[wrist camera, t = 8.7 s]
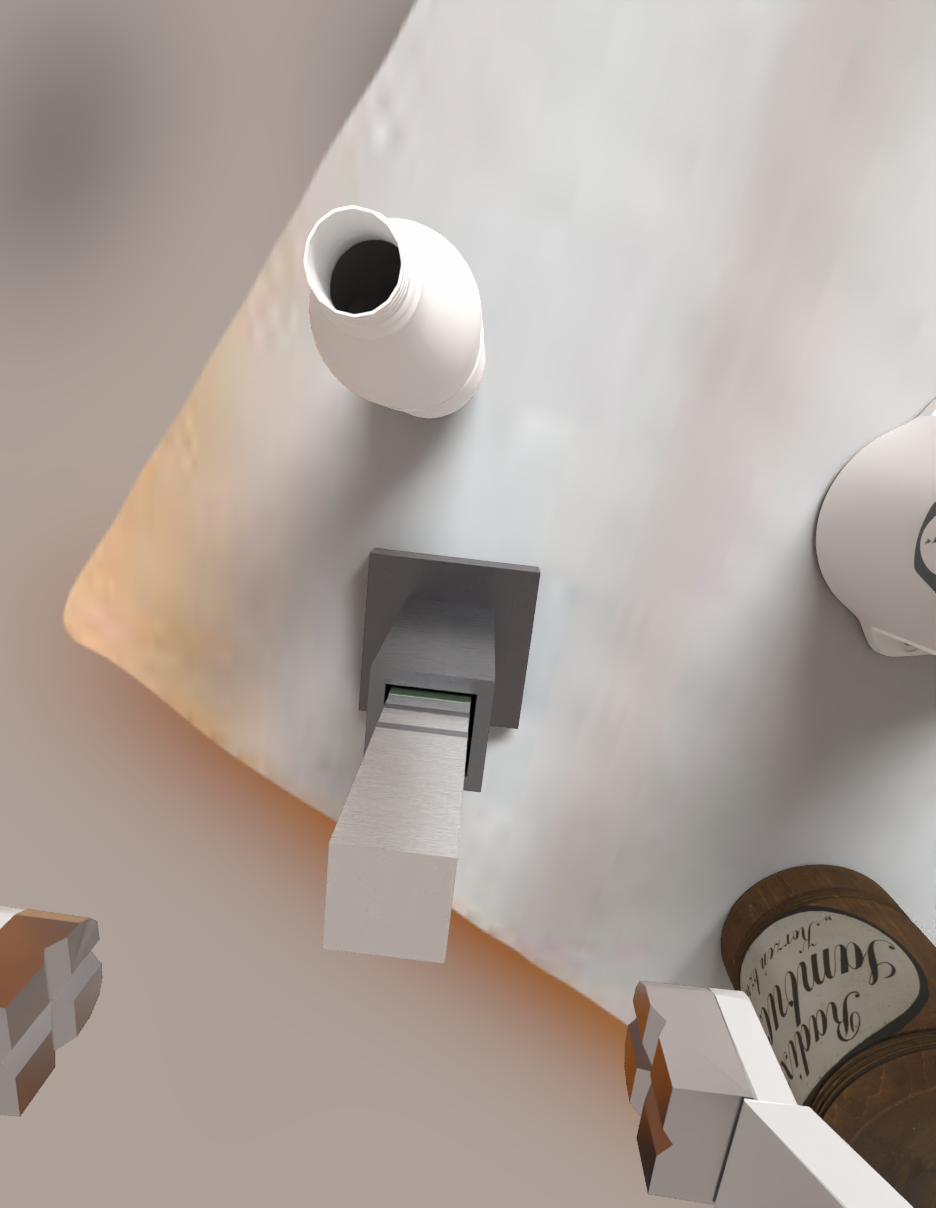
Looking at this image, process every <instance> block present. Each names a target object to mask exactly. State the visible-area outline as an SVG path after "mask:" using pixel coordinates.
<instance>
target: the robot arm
mask: <svg viewBox="0 0 936 1208" xmlns="http://www.w3.org/2000/svg"><path fill="white" fill-rule="evenodd" d="M816 552H817V558H818V562H819V566H820V569H821V572H822V575H823V577H824V579H825V581H826V583H827V585H828V587H829V588H830V590H831V591H832V592H833V594H834V595H835V596H836V597H837V598H838V600H839V601H840V602H841V603H843V604H844V605H845V606H846V607H847V608H848V609H849V610H850V611H851V612H852V613H853V614H854V615H855V616H856V617H857V618H858V620H859V621H860V623H861V626H862V629H863V632H864V635H865V637H866V639H867V642H868V643H869V645H870V647H871V648H872V649H873V650H874V651H875V652H877V653H880V654H882V655H885V656H889V657H900V656H915V655H930V654H934V655H936V398H935V399H934V400H933V401H932V402H931V403H930V404H929V405H928V406H927V407H926V408H925V409H924V410H923V411H922V413H921V414H920V415H919V416H918V417H916V418H915V419H913V420H912V421H910V422H908V423H906V424H904V425H902V426H900V427H898V428H896V429H894V430H892V431H890V432H887V433H886V434H884V435H882V436H880V437H878V438H877V439H875V440H874V441H872V442H871V443H870V444H868V445H867V446H865V447H864V448H863V449H862V450H861V451H859V452H858V453H857V454H856V455H855V456H854V457H853V458H852V459H851V460H850V461H849V462H848V463H847V464H846V465H845V467H844V468H843V469H842V470H841V472H840V473H839V474H838V476H837V477H836V479H835V480H834V482H833V484H832V485H831V487H830V489H829V491H828V493H827V495H826V497H825V499H824V502H823V505H822V507H821V511H820V514H819V518H818V523H817V530H816ZM99 939H100V938H99V930H98V922H97V921H96V920H94V919H91V918H88V917H81V916H74V915H67V914H60V913H53V912H46V911H39V910H32V909H20V908H13V907H7V906H0V1115H8V1116H19V1117H20V1116H21V1114H22V1113H23V1112H24V1110H25V1109H26V1107H27V1106H28V1105H29V1103H30V1102H31V1100H32V1099H33V1098H34V1096H35V1095H36V1093H37V1092H38V1091H39V1089H40V1088H41V1086H42V1085H43V1084H44V1082H45V1081H46V1079H47V1078H48V1077H49V1075H50V1074H51V1072H52V1071H53V1069H54V1068H55V1050H57V1049H58V1048H60V1047H61V1046H63V1045H64V1044H66V1043H68V1042H69V1041H71V1040H72V1039H74V1038H75V1037H77V1036H78V1034H79V1033H80V1031H81V1029H82V1028H83V1027H84V1025H85V1024H86V1022H87V1021H88V1019H89V1018H90V1016H91V1013H92V1011H93V1009H94V1006H95V1004H96V1001H97V999H98V997H99V995H100V988H101V983H102V964H101V962H100V961H99V960H98V959H97V957H96V956H95V955H94V954H93V952H92V951H91V950H92V948H93V947H94V946H95V945H96V943H97V942H98V941H99ZM633 1004H634V1008H635V1013H636V1017H637V1018H636V1019H635V1020H634V1021H633V1022H631V1023H630V1024H629V1025H628V1029H627V1034H626V1040H625V1074H626V1075H625V1076H626V1084H627V1090H628V1096H629V1101H630V1104H631V1105H632V1106H633V1108H634V1109H635V1110H636V1111H637V1113H638V1114H639V1115H640V1116H641V1119H640V1124H639V1129H638V1134H637V1142H638V1147H639V1152H640V1156H641V1162H642V1166H643V1172H644V1176H645V1182H646V1187H647V1192H648V1194H650V1195H656V1196H662V1197H668V1198H675V1199H681V1200H687V1201H694V1202H701V1203H706V1204H713V1205H715V1206H714V1208H913V1207H912V1206H911V1205H910V1204H909V1203H908V1202H907V1201H906V1200H905V1199H904V1198H903V1197H902V1196H901V1195H900V1194H899V1193H898V1192H897V1191H896V1190H895V1189H894V1188H893V1187H892V1186H891V1185H890V1184H889V1183H888V1182H887V1181H886V1180H884V1179H883V1178H882V1177H881V1176H880V1175H879V1174H878V1173H877V1172H876V1171H875V1170H874V1169H873V1168H872V1167H871V1166H870V1165H869V1164H868V1163H867V1162H866V1161H865V1160H864V1159H863V1158H862V1157H861V1156H860V1155H859V1154H858V1153H856V1152H855V1151H854V1150H853V1149H852V1148H851V1147H850V1146H849V1145H848V1144H847V1143H846V1142H845V1141H844V1140H843V1139H842V1138H841V1137H840V1136H839V1135H838V1134H837V1133H836V1132H835V1131H834V1130H833V1129H832V1128H831V1127H830V1126H829V1125H827V1124H826V1123H825V1122H824V1121H823V1120H822V1119H821V1118H820V1117H819V1116H818V1115H817V1114H816V1113H815V1112H814V1111H813V1110H812V1109H811V1108H810V1107H807V1106H801V1105H797V1102H796V1100H795V1098H794V1096H793V1093H792V1091H791V1089H790V1087H789V1085H788V1082H787V1080H786V1078H785V1076H784V1074H783V1071H782V1069H781V1067H780V1065H779V1063H778V1060H777V1058H776V1056H775V1054H774V1052H773V1049H772V1047H771V1045H770V1043H769V1040H768V1038H767V1036H766V1034H765V1032H764V1029H763V1027H762V1025H761V1023H760V1021H759V1018H758V1016H757V1014H756V1012H755V1010H754V1007H753V1005H752V1003H751V1001H750V999H749V997H748V996H747V995H746V994H745V993H744V992H743V991H735V990H726V989H716V988H705V987H696V986H687V985H677V984H668V983H658V982H648V981H639V983H638V985H637V986H636V989H635V994H634V998H633Z"/></svg>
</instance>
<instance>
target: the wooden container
mask: <svg viewBox="0 0 936 1208" xmlns="http://www.w3.org/2000/svg"><path fill="white" fill-rule="evenodd" d="M721 952H722V958H723V962H724V965H725V967H726V970H727V973H728V975H729V977H730V980H731V982H732V985H733V987H734V989H735V991H743V992H744V993H745V994H746V995H747V996H748V997H749V999H750V1001H751V1003H752V1005H753V1007H754V1010H755V1012H756V1014H757V1016H758V1018H759V1021H760V1023H761V1025H762V1027H763V1029H764V1032H765V1034H766V1036H767V1038H768V1040H769V1043H770V1045H771V1047H772V1049H773V1052H774V1054H775V1056H776V1058H777V1060H778V1063H779V1065H780V1067H781V1069H782V1071H783V1074H784V1076H785V1078H786V1080H787V1082H788V1085H789V1087H790V1089H791V1091H792V1093H793V1096H794V1098H795V1100H796V1102H797V1105H801V1106H807V1107H810V1108H811V1109H812V1110H813V1111H814V1112H815V1113H816V1114H817V1115H818V1116H819V1117H820V1118H821V1119H822V1120H823V1121H824V1122H825V1123H826V1124H827V1125H829V1126H830V1127H831V1128H832V1129H833V1130H834V1131H835V1132H836V1133H837V1134H838V1135H839V1136H840V1137H841V1138H842V1139H843V1140H844V1141H845V1142H846V1143H847V1144H848V1145H849V1146H850V1147H851V1148H852V1149H853V1150H854V1151H855V1152H856V1153H858V1154H859V1155H860V1156H861V1157H862V1158H863V1159H864V1160H865V1161H866V1162H867V1163H868V1164H869V1165H870V1166H871V1167H872V1168H873V1169H874V1170H875V1171H876V1172H877V1173H878V1174H879V1175H880V1176H881V1177H882V1178H883V1179H884V1180H886V1181H887V1182H888V1183H889V1184H890V1185H891V1186H892V1187H893V1188H894V1189H895V1190H896V1191H897V1192H898V1193H899V1194H900V1195H901V1196H902V1197H903V1198H904V1199H905V1200H906V1201H907V1202H908V1203H909V1204H910V1205H911V1206H912V1207H913V1208H936V947H935V946H934V945H933V944H932V943H931V942H930V941H929V939H928V938H927V937H926V936H925V935H924V934H923V933H922V932H921V930H920V929H919V928H918V927H917V926H916V925H915V924H914V923H913V922H912V921H911V920H910V919H909V917H908V916H907V915H906V914H905V913H904V911H903V910H902V909H901V908H900V907H899V906H898V905H897V904H896V902H895V901H894V900H893V899H892V898H891V897H890V896H889V895H888V894H887V892H886V891H885V890H884V889H883V888H882V887H880V886H879V885H878V884H877V883H876V882H874V881H873V880H871V879H870V878H868V877H866V876H865V875H863V874H860V873H858V872H856V871H853V870H850V869H847V868H843V867H839V866H831V865H807V866H800V867H795V868H791V869H787V870H784V871H781V872H778V873H776V874H774V875H772V876H770V877H768V878H766V879H764V880H762V881H760V882H759V883H757V884H756V885H754V886H753V887H752V888H751V889H750V890H748V891H747V892H746V893H745V894H744V895H743V896H742V897H741V898H740V899H739V900H738V902H737V903H736V904H735V905H734V907H733V908H732V910H731V912H730V913H729V915H728V918H727V920H726V923H725V925H724V928H723V932H722V937H721Z"/></svg>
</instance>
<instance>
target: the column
mask: <svg viewBox="0 0 936 1208" xmlns="http://www.w3.org/2000/svg"><path fill="white" fill-rule="evenodd" d="M470 705H471V694H470V693H461V692H452V691H444V690H435V689H427V688H418V687H410V686H401V685H392V687H391V690H390V692H389V696H388V698H387V701H386V703H385V704H384V707H383V711H382V713H381V716H380V718H379V721H378V722H377V724H376V726H375V730H374V733H373V735H372V738H371V740H370V743H369V745H368V748H367V750H366V753H365V755H364V758H363V760H362V763H361V765H360V768H359V770H358V772H357V775H356V777H355V780H354V782H353V785H352V787H351V790H350V792H349V795H348V797H347V800H346V802H345V805H344V807H343V810H342V812H341V815H340V817H339V819H338V822H337V824H336V827H335V830H334V832H333V834H332V837H331V840H330V842H329V853H328V869H327V885H326V901H325V918H324V934H323V949H330V950H337V951H345V952H354V953H362V954H371V955H378V956H388V957H395V958H404V959H412V960H420V961H428V962H437V963H445V955H446V948H447V940H448V932H449V924H450V916H451V908H452V900H453V891H454V883H455V875H456V867H457V859H458V847H459V835H460V823H461V810H462V798H463V786H464V774H465V761H466V749H467V741H468V726H469V718H470Z"/></svg>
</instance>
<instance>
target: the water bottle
mask: <svg viewBox="0 0 936 1208" xmlns="http://www.w3.org/2000/svg"><path fill="white" fill-rule="evenodd" d="M303 261H304V266H305V271H306V276H307V281H308V283H309V285H310V288H311V292H310V304H309V314H310V322H311V329H312V332H313V336H314V339H315V342H316V346H317V348H318V350H319V352H320V354H321V356H322V359H323V361H324V362H325V364H326V365H327V366H328V368H329V369H330V371H331V372H332V374H333V375H334V376H335V377H336V378H337V379H338V380H339V381H340V382H341V383H342V384H343V385H344V386H345V387H347V388H348V389H349V390H350V391H352V392H353V393H355V394H356V395H358V396H360V397H362V398H363V399H365V400H367V401H370V402H373V403H376V404H378V405H383V406H386V407H388V408H391V409H394V410H398V411H402V412H405V413H408V414H410V415H413V416H416V417H421V418H438V417H442V416H445V415H449V414H451V413H453V412H455V411H457V410H459V409H460V408H461V407H462V406H464V405H465V404H466V403H467V402H468V401H469V400H470V399H471V398H472V397H473V395H474V394H475V393H476V391H477V389H478V387H479V385H480V383H481V380H482V378H483V374H484V368H485V347H484V331H483V323H482V308H481V300H480V296H479V291H478V287H477V284H476V282H475V279H474V277H473V275H472V272H471V270H470V268H469V267H468V265H467V263H466V261H465V260H464V259H463V257H462V256H461V255H460V253H459V252H458V251H457V249H456V248H455V247H454V246H453V245H452V244H451V243H450V242H449V241H447V240H446V239H445V238H444V237H443V236H442V235H440V234H438V233H437V232H435V231H433V230H432V229H430V228H429V227H427V226H424V225H422V224H419V223H416V222H414V221H411V220H405V219H399V218H386V217H385V216H384V215H382V214H381V213H378V212H375V211H374V210H371V209H367V208H363V207H359V206H355V205H351V206H346V207H341V208H336V209H333V210H331V211H330V212H329V213H327V214H326V215H325V216H323V217H322V218H321V219H319V220H318V221H317V222H316V224H315V226H314V227H313V229H312V231H311V233H310V234H309V236H308V238H307V240H306V247H305V254H304V260H303Z"/></svg>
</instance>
